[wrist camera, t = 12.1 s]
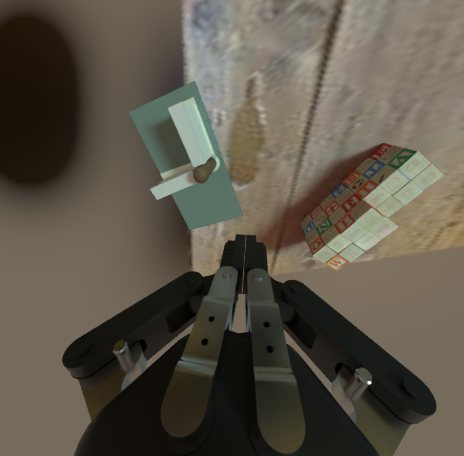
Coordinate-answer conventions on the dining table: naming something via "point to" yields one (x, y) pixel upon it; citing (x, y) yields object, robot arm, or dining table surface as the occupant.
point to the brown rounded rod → (204, 171)
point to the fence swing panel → (174, 183)
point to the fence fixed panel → (191, 132)
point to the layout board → (186, 159)
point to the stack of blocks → (366, 204)
